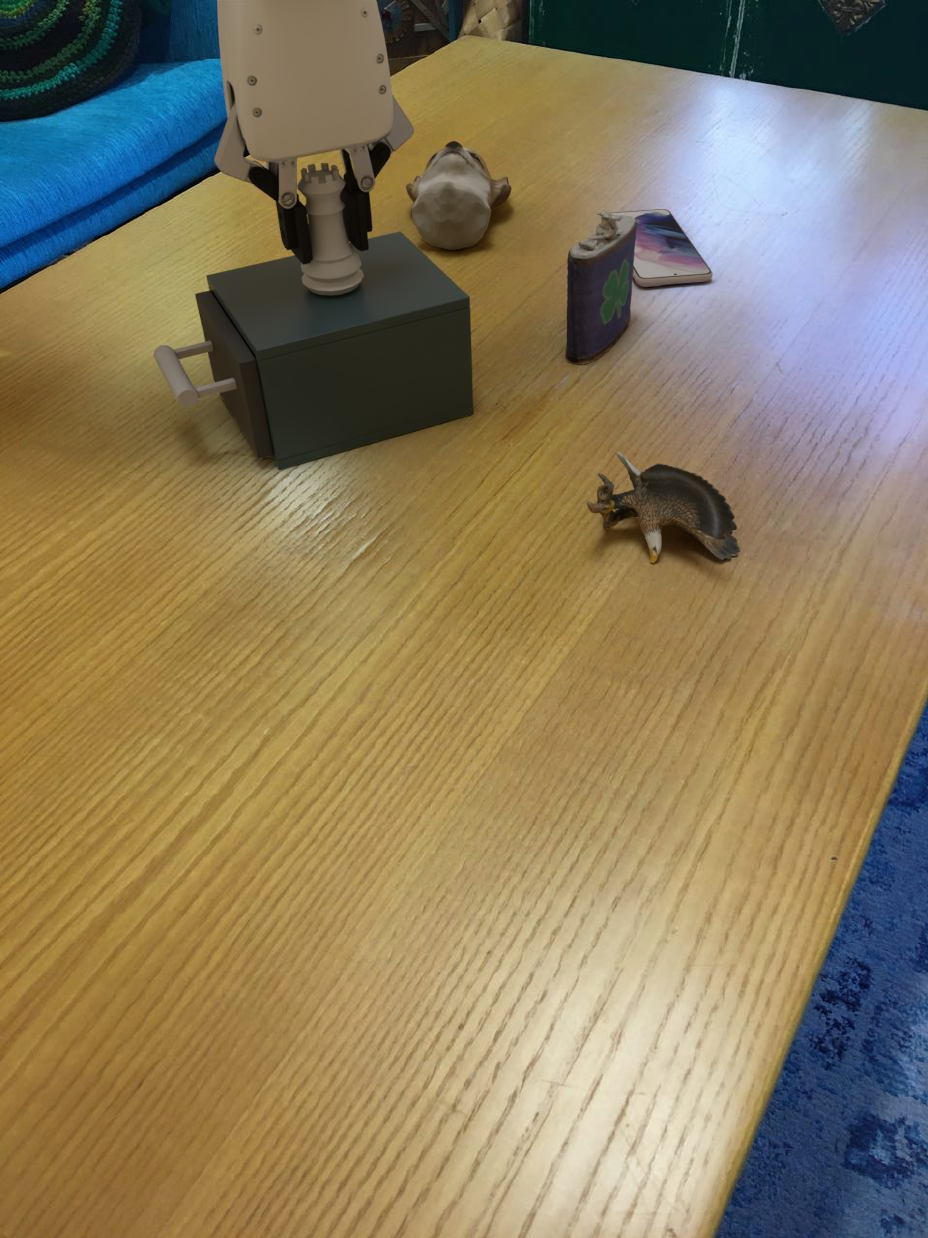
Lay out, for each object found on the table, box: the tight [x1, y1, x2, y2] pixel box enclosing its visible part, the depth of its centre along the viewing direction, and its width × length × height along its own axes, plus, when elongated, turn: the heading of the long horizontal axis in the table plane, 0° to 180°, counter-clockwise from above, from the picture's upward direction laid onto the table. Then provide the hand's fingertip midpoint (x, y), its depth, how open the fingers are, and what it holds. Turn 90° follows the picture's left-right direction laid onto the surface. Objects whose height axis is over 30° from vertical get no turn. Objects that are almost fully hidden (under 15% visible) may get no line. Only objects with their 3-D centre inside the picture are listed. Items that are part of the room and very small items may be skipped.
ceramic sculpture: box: [405, 140, 513, 251], centre depth 103 cm, size 11×9×15 cm
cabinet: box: [205, 231, 474, 471], centre depth 80 cm, size 16×13×10 cm
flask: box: [565, 210, 637, 365], centre depth 85 cm, size 9×3×11 cm, turn 148°
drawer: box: [153, 290, 274, 460], centre depth 79 cm, size 19×11×8 cm, turn 115°
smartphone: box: [600, 208, 714, 288], centre depth 100 cm, size 7×1×15 cm
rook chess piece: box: [297, 162, 364, 296], centre depth 74 cm, size 4×4×8 cm
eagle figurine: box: [586, 451, 741, 564], centre depth 67 cm, size 8×7×9 cm
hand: (328, 247), depth 75 cm, fingers closed on rook chess piece, 3 cm apart
